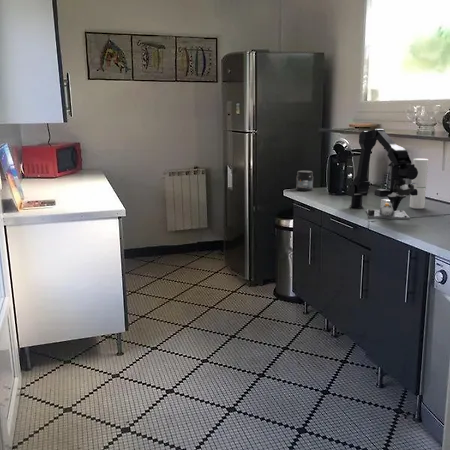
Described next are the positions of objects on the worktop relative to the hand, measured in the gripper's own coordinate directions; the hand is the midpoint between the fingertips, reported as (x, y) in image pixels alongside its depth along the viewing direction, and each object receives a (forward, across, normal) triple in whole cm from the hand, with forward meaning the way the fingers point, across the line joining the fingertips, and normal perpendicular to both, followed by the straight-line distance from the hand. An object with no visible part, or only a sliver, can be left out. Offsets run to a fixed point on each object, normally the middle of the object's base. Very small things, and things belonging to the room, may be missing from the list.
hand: (394, 210), depth 225 cm
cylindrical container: (+4, +27, +25) cm, 37 cm away
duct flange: (+4, +1, +9) cm, 10 cm away
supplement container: (+3, -11, +90) cm, 91 cm away
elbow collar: (+3, -1, +5) cm, 6 cm away
